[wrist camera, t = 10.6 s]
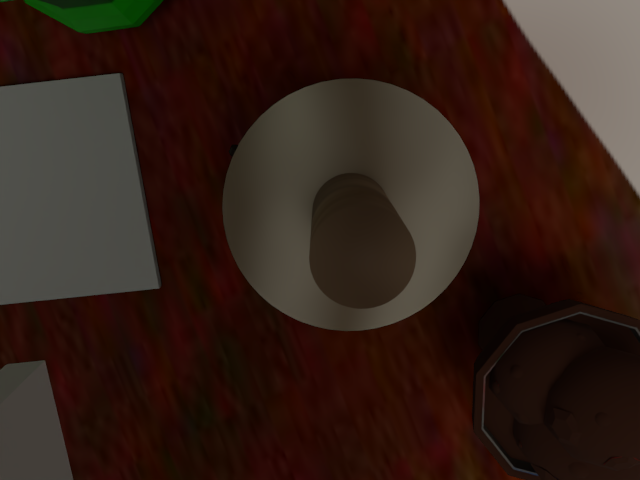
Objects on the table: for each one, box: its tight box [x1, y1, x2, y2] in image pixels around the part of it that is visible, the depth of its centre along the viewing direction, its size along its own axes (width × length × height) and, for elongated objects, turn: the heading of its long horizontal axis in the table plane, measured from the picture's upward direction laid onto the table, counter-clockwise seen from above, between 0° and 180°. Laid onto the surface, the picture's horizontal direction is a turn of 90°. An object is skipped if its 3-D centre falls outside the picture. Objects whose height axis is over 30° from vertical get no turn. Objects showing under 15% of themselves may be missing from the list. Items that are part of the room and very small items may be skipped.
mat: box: [0, 73, 162, 305], centre depth 38 cm, size 14×14×1 cm
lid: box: [222, 78, 479, 331], centre depth 24 cm, size 12×12×9 cm
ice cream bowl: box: [472, 294, 640, 480], centre depth 34 cm, size 11×11×15 cm
